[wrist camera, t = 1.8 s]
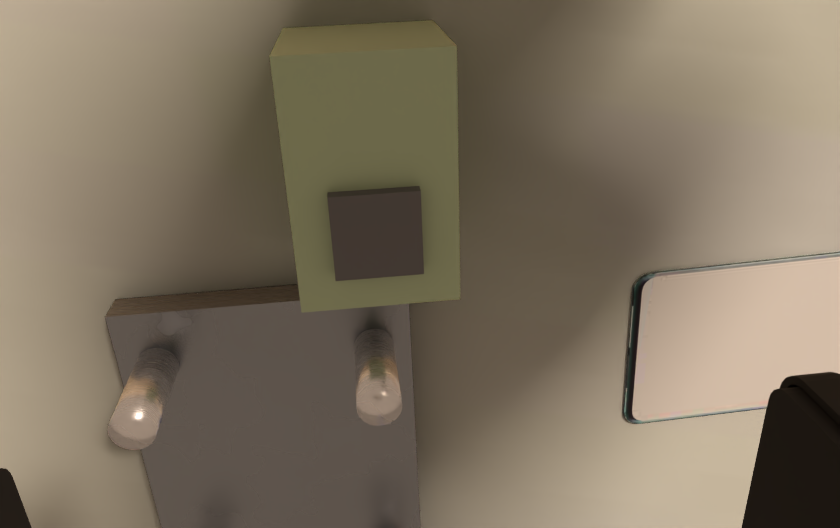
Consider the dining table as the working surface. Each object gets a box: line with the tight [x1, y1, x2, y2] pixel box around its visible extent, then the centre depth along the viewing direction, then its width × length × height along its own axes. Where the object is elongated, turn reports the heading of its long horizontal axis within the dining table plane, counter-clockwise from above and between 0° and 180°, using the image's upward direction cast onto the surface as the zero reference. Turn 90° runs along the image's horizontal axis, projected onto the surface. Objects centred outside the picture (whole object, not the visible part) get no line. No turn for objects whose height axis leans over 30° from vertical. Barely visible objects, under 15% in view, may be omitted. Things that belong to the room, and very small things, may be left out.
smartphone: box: [623, 251, 840, 424], centre depth 28 cm, size 7×1×15 cm
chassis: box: [105, 284, 421, 528], centre depth 26 cm, size 14×10×5 cm
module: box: [269, 20, 460, 313], centre depth 21 cm, size 7×4×5 cm, turn 2°
